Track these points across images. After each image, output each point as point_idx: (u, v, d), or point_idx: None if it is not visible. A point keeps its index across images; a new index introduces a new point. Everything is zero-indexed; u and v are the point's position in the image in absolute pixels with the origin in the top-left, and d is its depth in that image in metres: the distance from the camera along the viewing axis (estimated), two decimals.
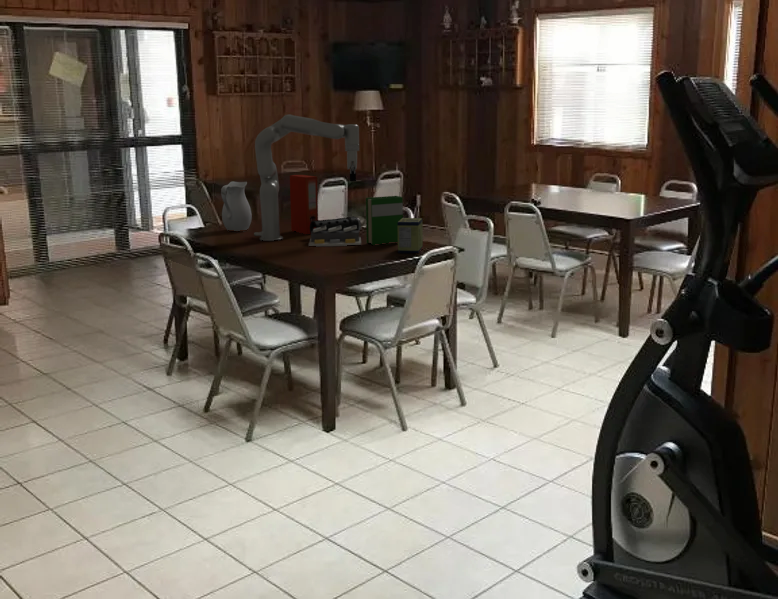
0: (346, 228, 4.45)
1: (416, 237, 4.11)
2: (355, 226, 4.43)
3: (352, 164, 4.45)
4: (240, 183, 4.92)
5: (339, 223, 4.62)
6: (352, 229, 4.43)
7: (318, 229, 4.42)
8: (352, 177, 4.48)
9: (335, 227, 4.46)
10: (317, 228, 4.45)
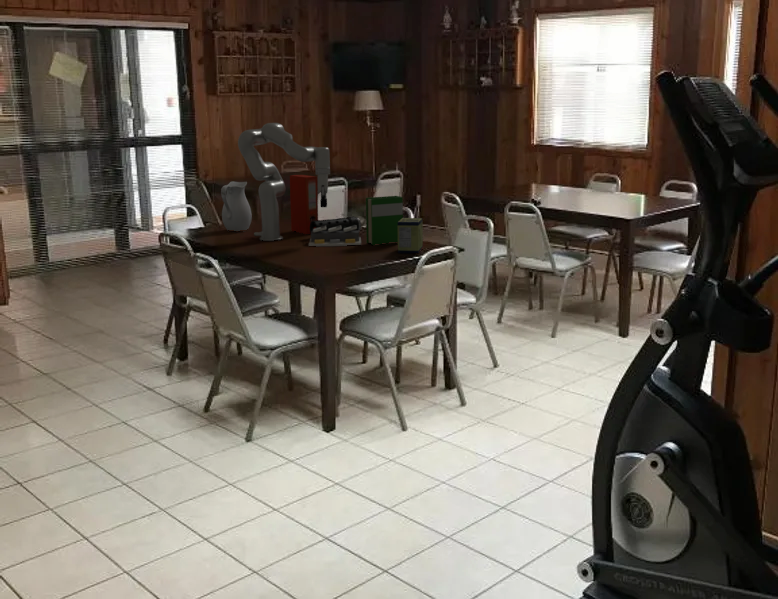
0: (346, 228, 4.45)
1: (416, 237, 4.11)
2: (355, 226, 4.43)
3: (322, 191, 4.34)
4: (240, 183, 4.92)
5: (339, 223, 4.62)
6: (352, 229, 4.43)
7: (318, 229, 4.42)
8: (323, 203, 4.38)
9: (335, 227, 4.46)
10: (317, 228, 4.45)
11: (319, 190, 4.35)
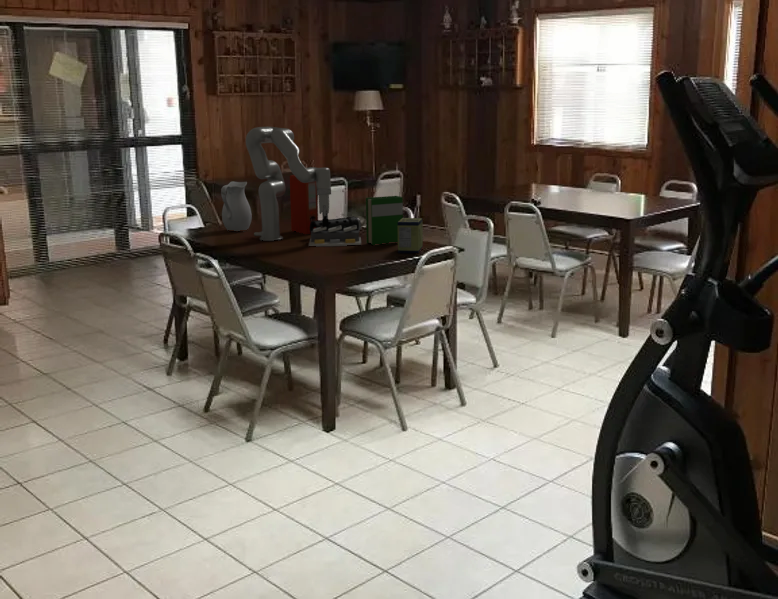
0: (346, 228, 4.45)
1: (416, 237, 4.11)
2: (355, 226, 4.43)
3: (324, 212, 4.38)
4: (240, 183, 4.92)
5: (339, 223, 4.62)
6: (352, 229, 4.43)
7: (318, 229, 4.42)
8: (325, 223, 4.43)
9: (335, 227, 4.46)
10: (317, 228, 4.45)
11: (321, 210, 4.38)
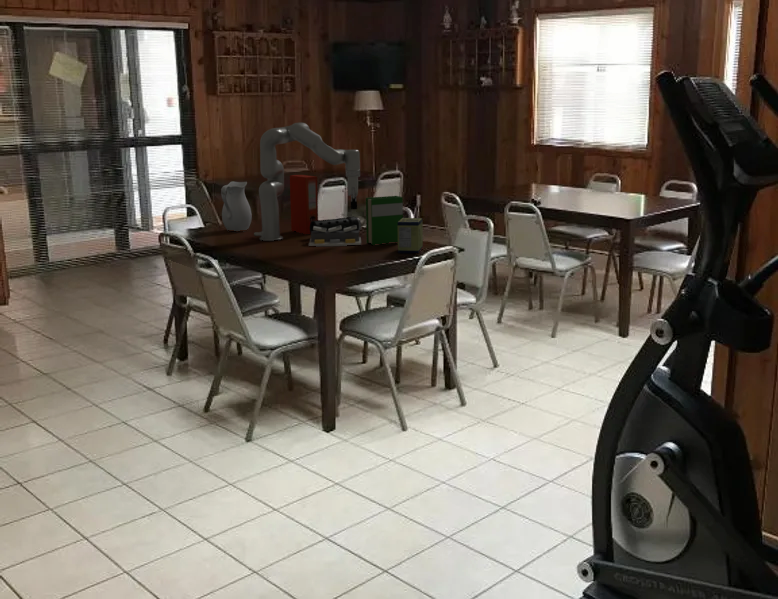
0: (346, 228, 4.45)
1: (416, 237, 4.11)
2: (355, 226, 4.43)
3: (353, 195, 4.37)
4: (240, 183, 4.92)
5: (339, 223, 4.62)
6: (352, 229, 4.43)
7: (318, 229, 4.42)
8: (353, 205, 4.41)
9: (335, 227, 4.46)
10: (317, 227, 4.45)
11: (349, 192, 4.36)
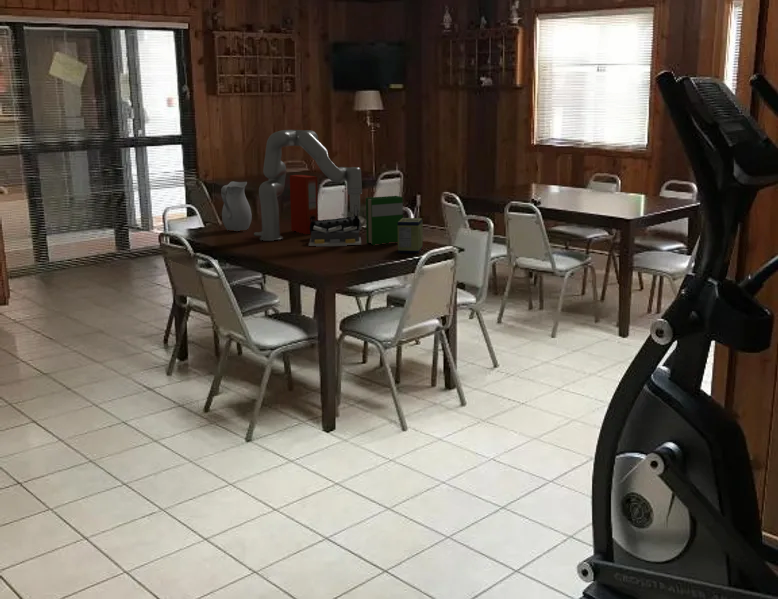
0: (346, 228, 4.45)
1: (416, 237, 4.11)
2: (355, 226, 4.43)
3: (355, 212, 4.39)
4: (240, 183, 4.92)
5: (339, 223, 4.62)
6: (352, 229, 4.43)
7: (318, 229, 4.42)
8: (355, 222, 4.44)
9: (335, 227, 4.46)
10: (318, 227, 4.45)
11: (352, 210, 4.38)
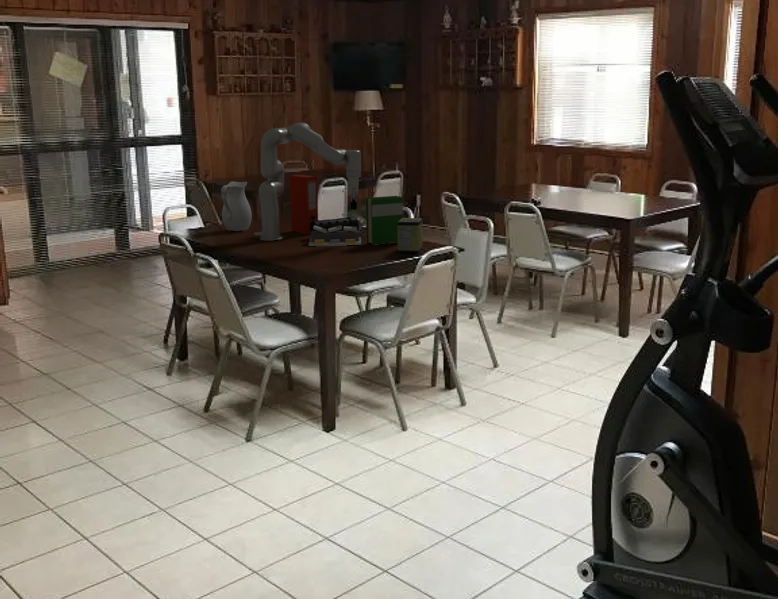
0: (346, 227, 4.45)
1: (416, 237, 4.11)
2: (356, 228, 4.44)
3: (353, 195, 4.37)
4: (240, 183, 4.92)
5: (339, 223, 4.62)
6: (352, 230, 4.43)
7: (318, 228, 4.42)
8: (353, 205, 4.42)
9: (335, 227, 4.46)
10: (318, 227, 4.45)
11: (350, 193, 4.37)
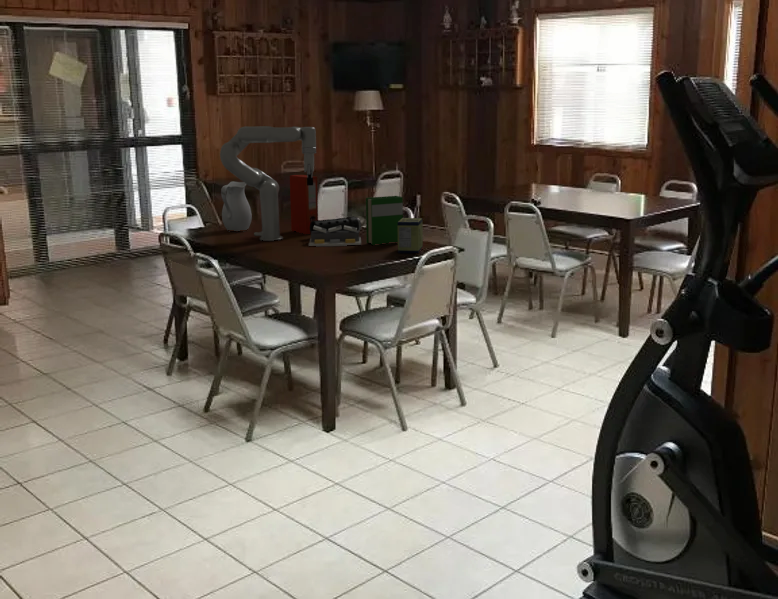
0: (347, 226, 4.45)
1: (416, 237, 4.11)
2: (356, 229, 4.44)
3: (309, 171, 4.47)
4: (240, 183, 4.92)
5: (339, 223, 4.62)
6: (352, 230, 4.43)
7: (318, 228, 4.42)
8: (309, 181, 4.52)
9: (335, 227, 4.46)
10: (318, 227, 4.45)
11: (305, 169, 4.46)
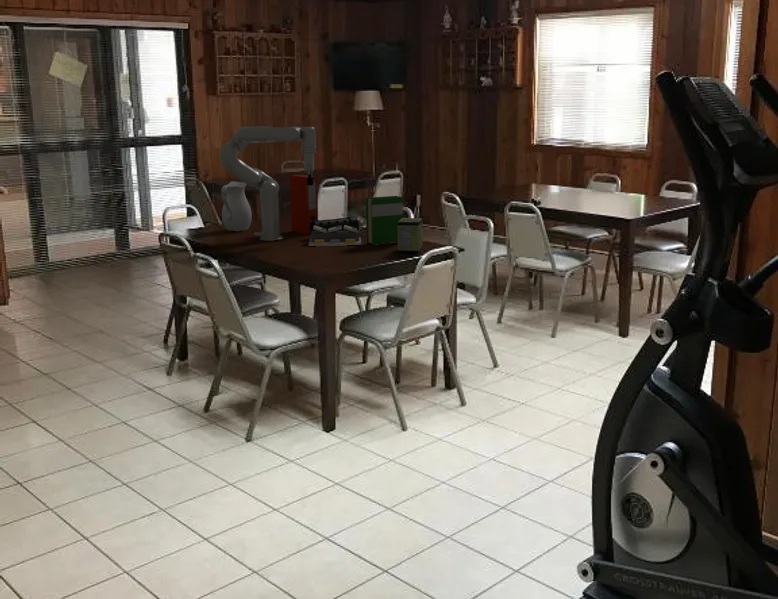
0: (347, 226, 4.45)
1: (416, 237, 4.11)
2: (356, 229, 4.44)
3: (309, 171, 4.47)
4: (240, 183, 4.92)
5: (339, 223, 4.62)
6: (352, 230, 4.43)
7: (318, 228, 4.42)
8: (309, 181, 4.52)
9: (335, 227, 4.46)
10: (318, 227, 4.45)
11: (305, 168, 4.46)
